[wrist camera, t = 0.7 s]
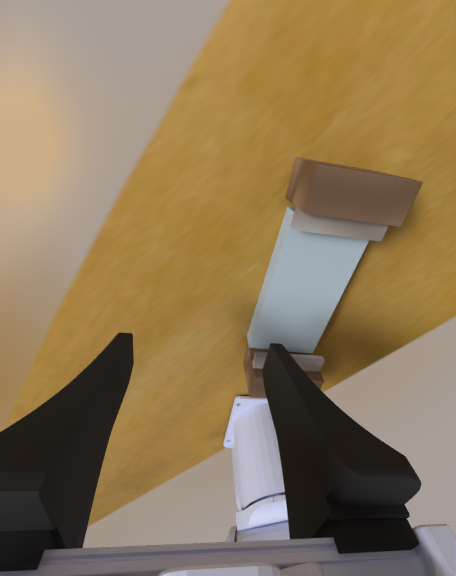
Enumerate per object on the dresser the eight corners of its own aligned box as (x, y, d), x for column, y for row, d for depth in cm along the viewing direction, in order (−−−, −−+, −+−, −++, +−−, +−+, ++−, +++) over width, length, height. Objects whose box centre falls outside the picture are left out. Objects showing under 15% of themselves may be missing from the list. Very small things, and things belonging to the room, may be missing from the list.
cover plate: (305, 339, 26) (312, 353, 24) (246, 332, 25) (249, 347, 23) (360, 219, 20) (375, 228, 18) (285, 204, 19) (293, 212, 17)
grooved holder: (300, 365, 27) (314, 399, 23) (243, 362, 26) (249, 397, 22) (380, 172, 18) (423, 181, 14) (295, 157, 17) (319, 164, 13)
